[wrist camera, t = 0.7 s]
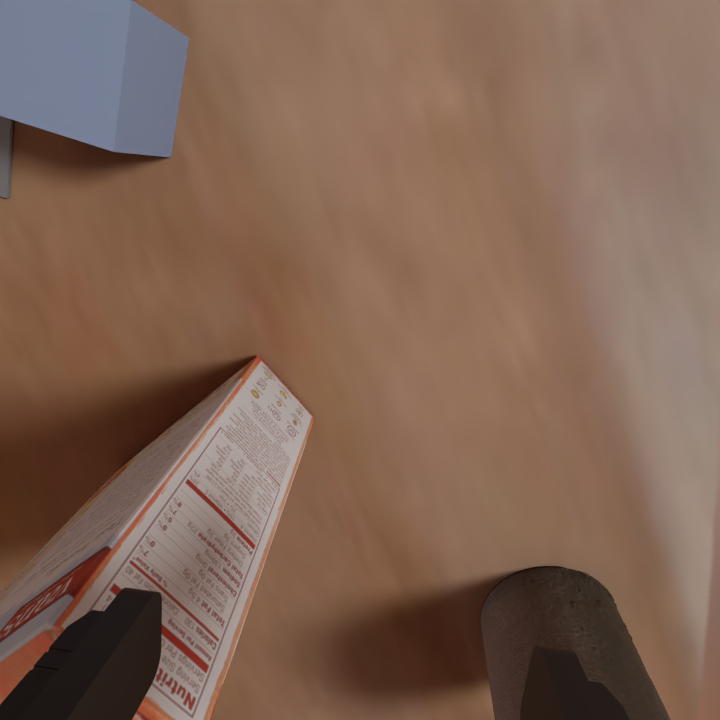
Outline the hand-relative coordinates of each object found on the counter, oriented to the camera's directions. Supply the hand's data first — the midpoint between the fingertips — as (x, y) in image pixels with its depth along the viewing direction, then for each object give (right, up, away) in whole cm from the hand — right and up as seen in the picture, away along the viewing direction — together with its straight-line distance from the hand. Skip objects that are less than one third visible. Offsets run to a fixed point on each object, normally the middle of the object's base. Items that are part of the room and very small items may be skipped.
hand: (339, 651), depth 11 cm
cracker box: (-9, +1, +24) cm, 26 cm away
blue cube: (-12, +21, +17) cm, 29 cm away
